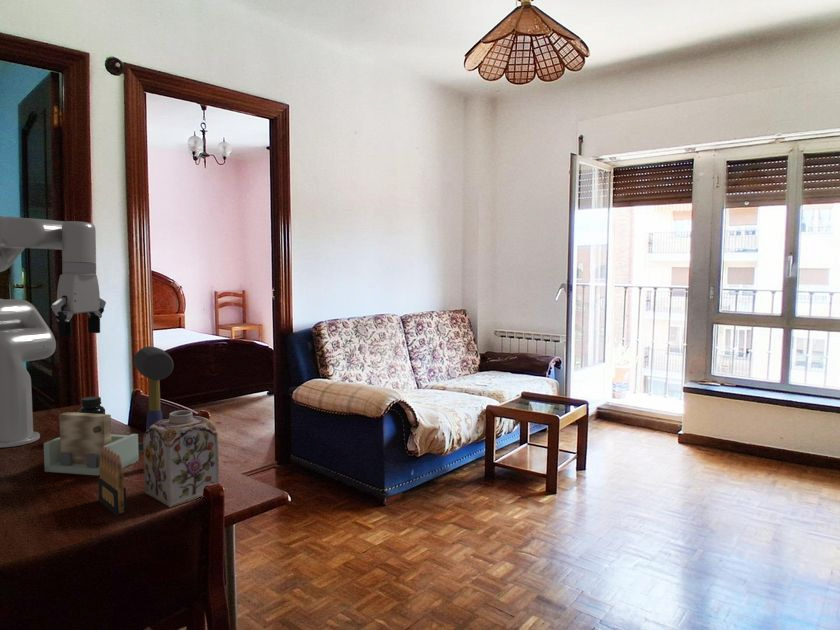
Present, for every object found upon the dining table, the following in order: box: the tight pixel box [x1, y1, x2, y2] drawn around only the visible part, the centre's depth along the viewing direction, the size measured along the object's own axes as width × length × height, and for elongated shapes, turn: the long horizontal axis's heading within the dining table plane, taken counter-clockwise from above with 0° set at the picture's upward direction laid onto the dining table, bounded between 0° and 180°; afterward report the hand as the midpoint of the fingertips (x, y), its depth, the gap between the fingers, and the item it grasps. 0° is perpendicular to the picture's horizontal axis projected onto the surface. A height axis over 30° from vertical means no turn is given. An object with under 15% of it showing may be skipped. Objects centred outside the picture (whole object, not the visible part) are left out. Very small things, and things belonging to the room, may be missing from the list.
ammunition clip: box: [97, 445, 128, 516], centre depth 114 cm, size 11×2×12 cm, turn 47°
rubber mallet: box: [133, 346, 174, 432], centre depth 136 cm, size 12×8×30 cm, turn 37°
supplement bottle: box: [77, 396, 106, 414], centre depth 159 cm, size 7×7×12 cm
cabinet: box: [43, 433, 140, 476], centre depth 138 cm, size 17×11×7 cm, turn 81°
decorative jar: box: [142, 409, 220, 508], centre depth 121 cm, size 12×12×18 cm
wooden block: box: [58, 411, 112, 466], centre depth 135 cm, size 12×3×12 cm, turn 81°
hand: (80, 334), depth 146 cm, fingers open, 9 cm apart
